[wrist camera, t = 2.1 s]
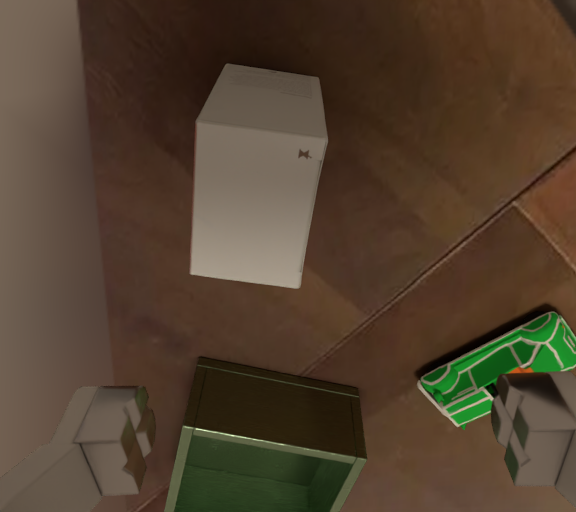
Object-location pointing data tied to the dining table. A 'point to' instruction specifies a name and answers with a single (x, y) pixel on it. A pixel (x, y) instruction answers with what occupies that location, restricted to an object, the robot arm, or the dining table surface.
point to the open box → (266, 443)
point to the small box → (256, 175)
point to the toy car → (498, 366)
